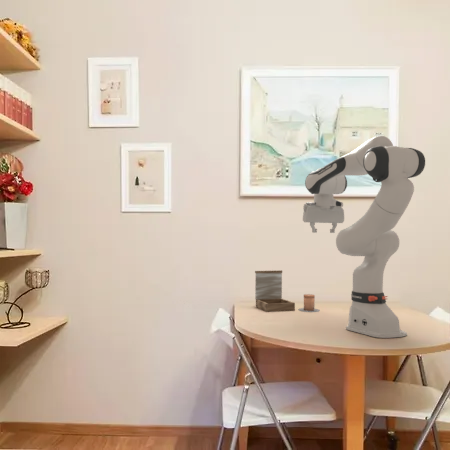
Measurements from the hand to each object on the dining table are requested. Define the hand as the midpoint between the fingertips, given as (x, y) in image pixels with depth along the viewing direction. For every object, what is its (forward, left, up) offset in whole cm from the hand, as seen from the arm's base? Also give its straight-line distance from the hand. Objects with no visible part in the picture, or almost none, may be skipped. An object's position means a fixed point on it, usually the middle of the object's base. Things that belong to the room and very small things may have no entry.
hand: (323, 232), depth 191 cm
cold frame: (+14, +18, -37) cm, 43 cm away
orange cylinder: (+6, +4, -36) cm, 37 cm away
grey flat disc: (+6, +4, -37) cm, 38 cm away
